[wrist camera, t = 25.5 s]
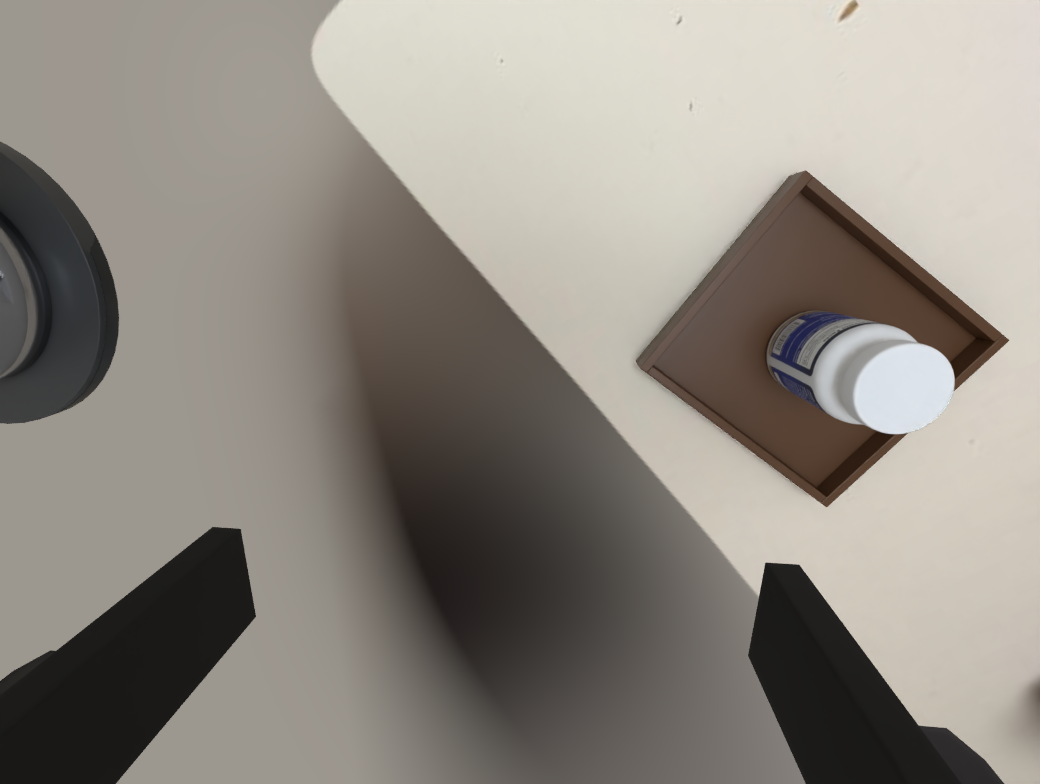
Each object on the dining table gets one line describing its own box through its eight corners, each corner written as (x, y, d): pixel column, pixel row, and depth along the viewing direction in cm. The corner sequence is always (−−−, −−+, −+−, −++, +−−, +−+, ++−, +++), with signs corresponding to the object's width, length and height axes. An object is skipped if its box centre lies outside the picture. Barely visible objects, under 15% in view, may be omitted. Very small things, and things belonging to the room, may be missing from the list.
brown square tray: (635, 361, 35) (639, 367, 33) (790, 175, 31) (805, 170, 29) (812, 493, 37) (826, 507, 35) (982, 334, 32) (1010, 340, 30)
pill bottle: (854, 380, 33) (969, 433, 24) (768, 398, 34) (846, 455, 25) (848, 299, 32) (967, 320, 22) (758, 320, 33) (837, 349, 23)
